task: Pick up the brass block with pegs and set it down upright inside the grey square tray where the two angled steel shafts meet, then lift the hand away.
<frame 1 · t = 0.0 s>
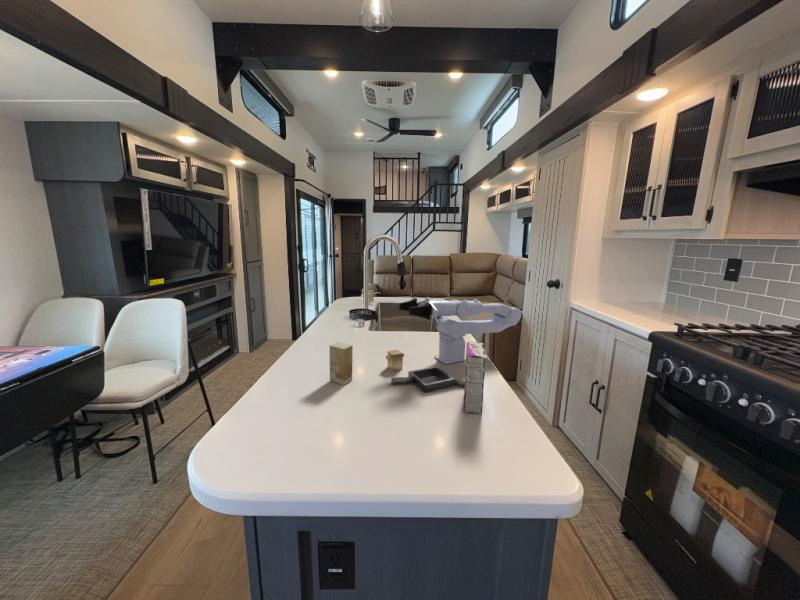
hand: (404, 308, 110), 22 cm above the table, tool horizontal, fingers open, 7 cm apart
grey square tray: (431, 382, 103), on the table
candy bar box: (472, 403, 91), on the table
brass block with pegs: (394, 368, 114), on the table
skincare box: (341, 381, 104), on the table
steel shaft A: (402, 383, 102), on the table
steel shaft B: (464, 386, 101), on the table
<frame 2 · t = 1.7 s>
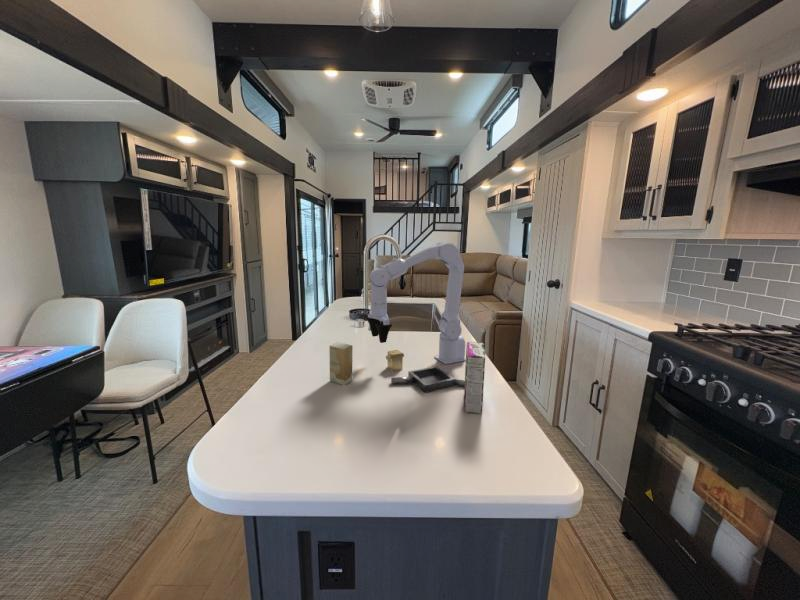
hand: (379, 339, 116), 9 cm above the table, tool pointing down, fingers open, 7 cm apart
nothing on the table moved.
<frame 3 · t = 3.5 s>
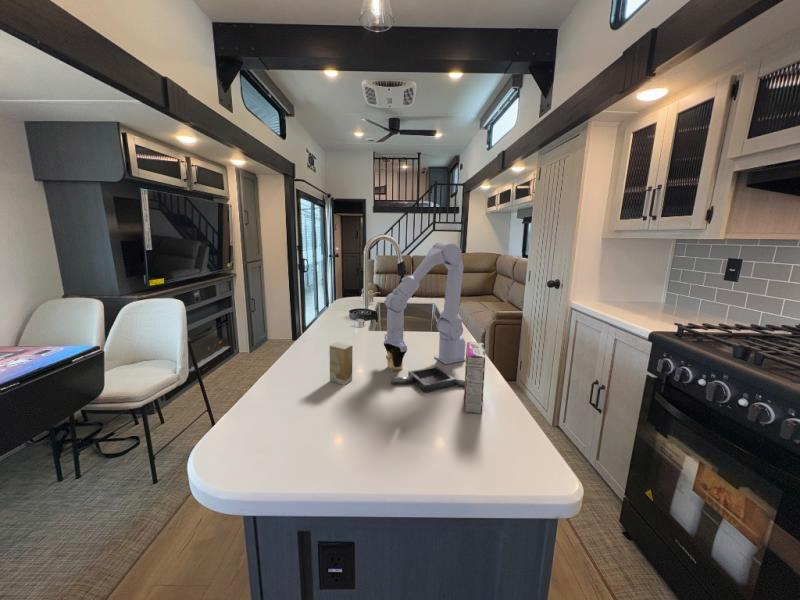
hand: (394, 364, 114), 1 cm above the table, tool pointing down, fingers closed on brass block with pegs, 4 cm apart
brass block with pegs: (394, 368, 114), on the table, touching gripper
everything else where it was.
when the fingers open (3 cm above the table, at t = 8.1 s): brass block with pegs drops 1 cm, resting on grey square tray.
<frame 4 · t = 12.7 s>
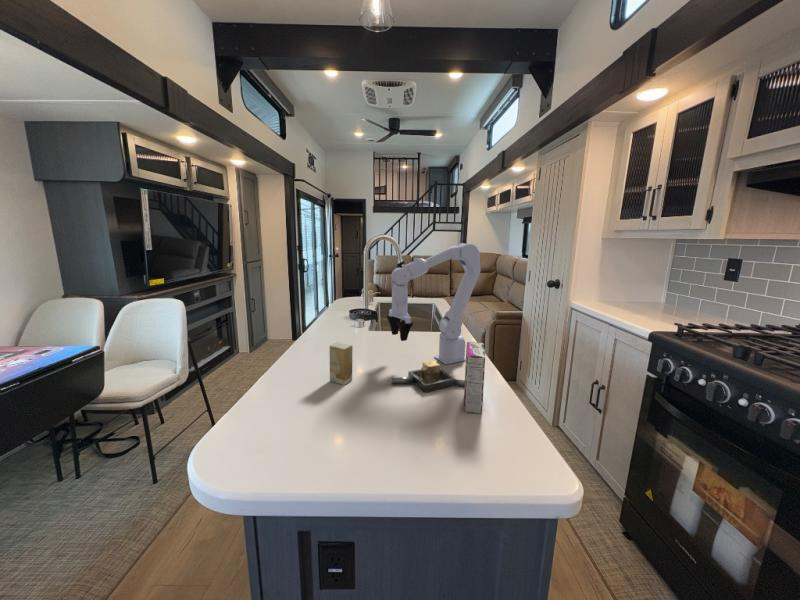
hand: (399, 337, 118), 9 cm above the table, tool pointing down, fingers open, 7 cm apart
brass block with pegs: (430, 381, 103), resting on grey square tray
everything else where it was.
at the end: brass block with pegs 0.2 cm off-centre on the grey square tray, point 0.5 cm above the grey square tray's base; brass block with pegs tilted 0°; the gripper is holding nothing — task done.
